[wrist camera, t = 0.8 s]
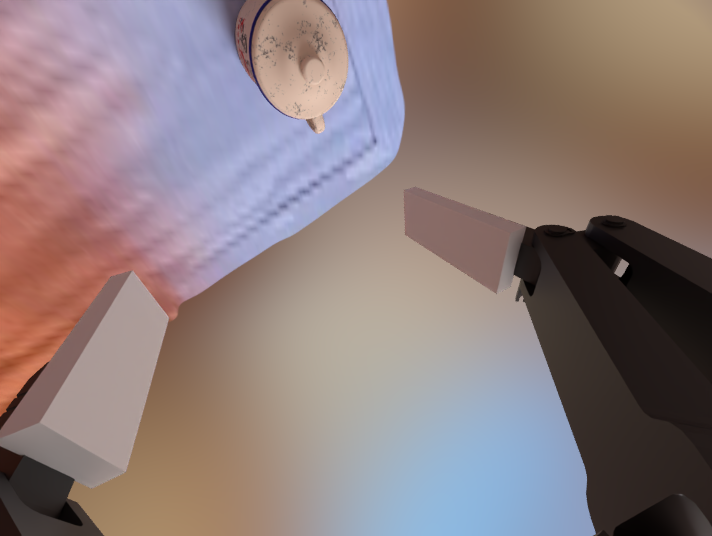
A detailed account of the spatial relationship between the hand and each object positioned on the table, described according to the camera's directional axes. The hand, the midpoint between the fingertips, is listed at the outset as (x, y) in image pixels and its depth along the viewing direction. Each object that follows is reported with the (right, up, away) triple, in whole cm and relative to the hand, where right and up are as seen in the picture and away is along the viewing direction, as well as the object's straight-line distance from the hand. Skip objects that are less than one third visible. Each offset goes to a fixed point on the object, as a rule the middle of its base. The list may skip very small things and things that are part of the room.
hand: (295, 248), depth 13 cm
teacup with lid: (-5, +23, +16) cm, 28 cm away
